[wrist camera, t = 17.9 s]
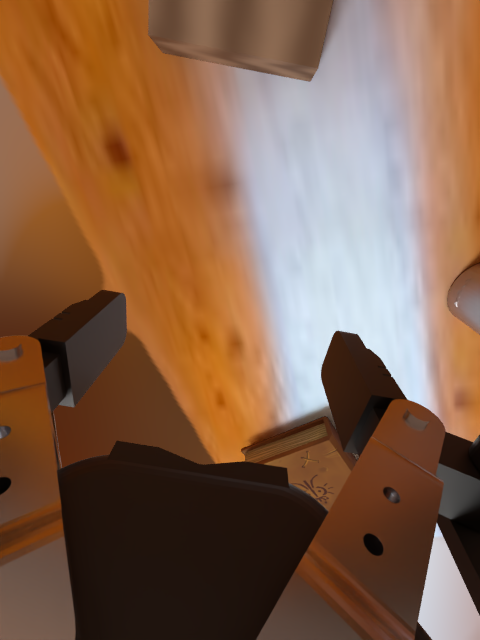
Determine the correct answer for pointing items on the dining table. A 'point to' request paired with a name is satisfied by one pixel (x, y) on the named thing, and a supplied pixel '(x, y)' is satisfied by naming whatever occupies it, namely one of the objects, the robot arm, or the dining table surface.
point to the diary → (308, 459)
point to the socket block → (244, 33)
